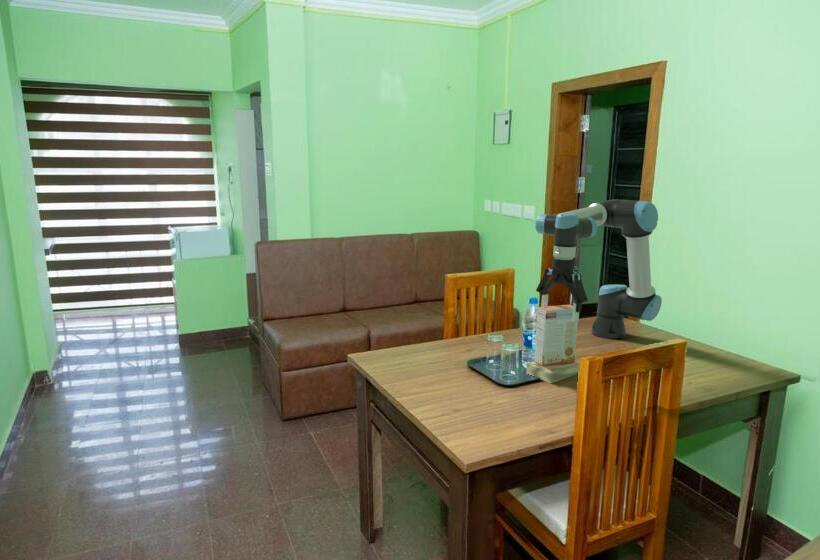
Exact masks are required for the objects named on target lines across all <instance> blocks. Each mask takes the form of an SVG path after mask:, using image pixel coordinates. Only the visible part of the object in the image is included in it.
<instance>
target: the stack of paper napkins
mask: <svg viewBox="0 0 820 560" xmlns="http://www.w3.org/2000/svg"><path fill="white" fill-rule="evenodd" d="M579 363H580V362H578V361H576V360H575V361H574V363H566V364H558V365H550V366H541V365H539V364H538V363H536V362H534V360H533V361H530V362H528V363H527V362H526V368H525V369H526V371H525V373H526V375H528V374H529V375H528V376H530V375H532V376H531V377H533V376H535V377H538V378H540V379H539V380H540V381H544V382H546V383H548V384H553V383H556V382H559V381H562V380H564V379H568V378H571V377H573V376H576V375H578V374H577V373H578V365H579ZM535 377H534V378H535ZM538 378H537V379H538Z"/></svg>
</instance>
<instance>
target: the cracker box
mask: <svg viewBox="0 0 820 560" xmlns="http://www.w3.org/2000/svg"><path fill="white" fill-rule="evenodd" d="M572 316H573V305H572V304H561V305H560V304H559V305H548V306H545V307H541V306H538V307H537V312H536V328H535V341H534V342H535V345H534V357H533V359H534V360H533V361H534V362H536V363H538V364H539V365H541V366H550V365H558V364H566V363H574V361H576V360H575V359H576V347H577V334H578V323H579V320H577V321H572Z"/></svg>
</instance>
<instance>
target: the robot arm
mask: <svg viewBox="0 0 820 560" xmlns="http://www.w3.org/2000/svg"><path fill="white" fill-rule="evenodd" d="M658 221H659V212H658V209H657V207H656V205H655V204H653V202H650V201H644V200H631V199H629V200H628V199H609V200H603V201H598V202H594V203H592V204H590V205H588V207H583V208H577V209H573V210H569V211H565V212H561V213H554V214H547V213H546V214H543V213H541V214H540V215H538V216H537V217H536V219H535V223H534V225H535V231H536V232H537V233H538V234H541V235H544V236H545V235H546V236H547V235H548V236H553V237H554V242H553V250H552V251H553V252H552V253H553V254H552V257H553V258H552V262H551V263H552V265H551V267H548V268H545V269H544V273H543V275H542V278H541V280H540V281H539V284H538V285H537V287H536V289H535V291H536V292H537V293H540V296H539V297H540V300H539V302H540V304H541V305H540V307H545V306H549V294H548V292H550V290H551V289H552V288H554V286H555V285H556V284H559V285H560V284H561V285H562V286H563V285H565V287H566V288H567V289H568V291H569V293H570V294H571V296H572V297H573V300H574V301H575V302H573V305H572V306H573V316H572V321H577V320H578V321H579V320H580V319H579V317H580V312H582V304H583V303H586V302H588V298H587V294H586V290H585V287H584V284H583V282H582V274H581V273H578V274H577V273H576V274H575V273H574V269H575V263H576V260H575V258H576V252H577V251H576V250H577V240H586V239H590V238H592V237H594V236H595V235H597V231H598V227H601V226H602V227H609V228H616V229H621V236H623V237H624V238H625V239H626V240H625V242H626V253H627V268H628V269H627V270H628V282H629V287H628V286H627V285H626V284H616V283H615V284H604V285H602V286H600V287H599V293H598V299H597V301H598V302H597V308H596V309H597V310H596V311H597V312H596V317H595V319H594V321H593V324H592V326H591V331H590V333H591V334H592V335H594V336H597V337H599V338H604V339H609V340H610V339H613V340H618V339H617V338H621V339H624V337H625V338H626V337H627V328H626V324H625V320H624V317H629V318H634V319H639V320H641V321H648V322H650V321H653V320H655V319H656V318H657V316H658V314H659V313H660V311H661V307H662V303H663V302H662V300H663V299H662V297H661V296H660V295H659V294H656V289H655V287H654V286H652V276H651V256H650V240H649V239H650V235H652V234H653V232H654V230H655V229H656V228H657V226H658ZM551 275H552V278H551ZM550 278H551V279H550Z"/></svg>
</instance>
